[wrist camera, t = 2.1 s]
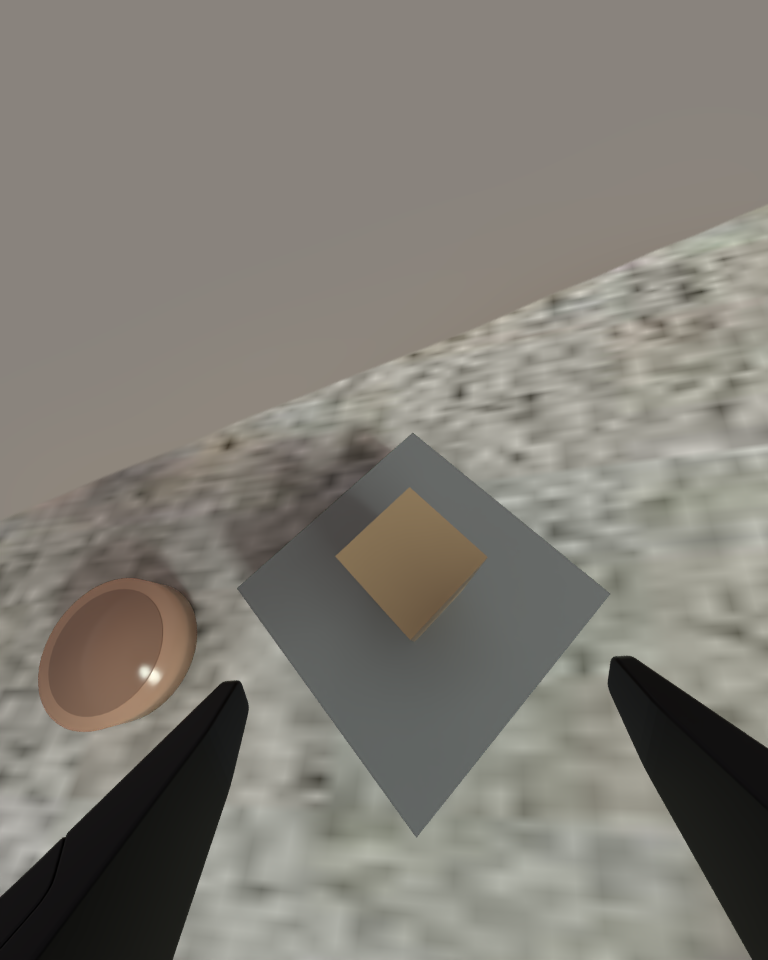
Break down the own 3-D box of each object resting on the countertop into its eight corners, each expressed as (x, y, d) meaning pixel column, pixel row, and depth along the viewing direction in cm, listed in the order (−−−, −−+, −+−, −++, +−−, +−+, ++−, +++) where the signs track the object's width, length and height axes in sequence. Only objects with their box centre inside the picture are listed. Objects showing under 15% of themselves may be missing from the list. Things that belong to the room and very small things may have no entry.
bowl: (116, 753, 18) (66, 771, 16) (68, 645, 21) (17, 645, 18) (227, 650, 20) (198, 651, 17) (169, 562, 23) (136, 551, 20)
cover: (417, 791, 17) (411, 1030, 6) (271, 598, 21) (128, 554, 11) (571, 604, 19) (742, 558, 9) (414, 468, 24) (408, 332, 13)
